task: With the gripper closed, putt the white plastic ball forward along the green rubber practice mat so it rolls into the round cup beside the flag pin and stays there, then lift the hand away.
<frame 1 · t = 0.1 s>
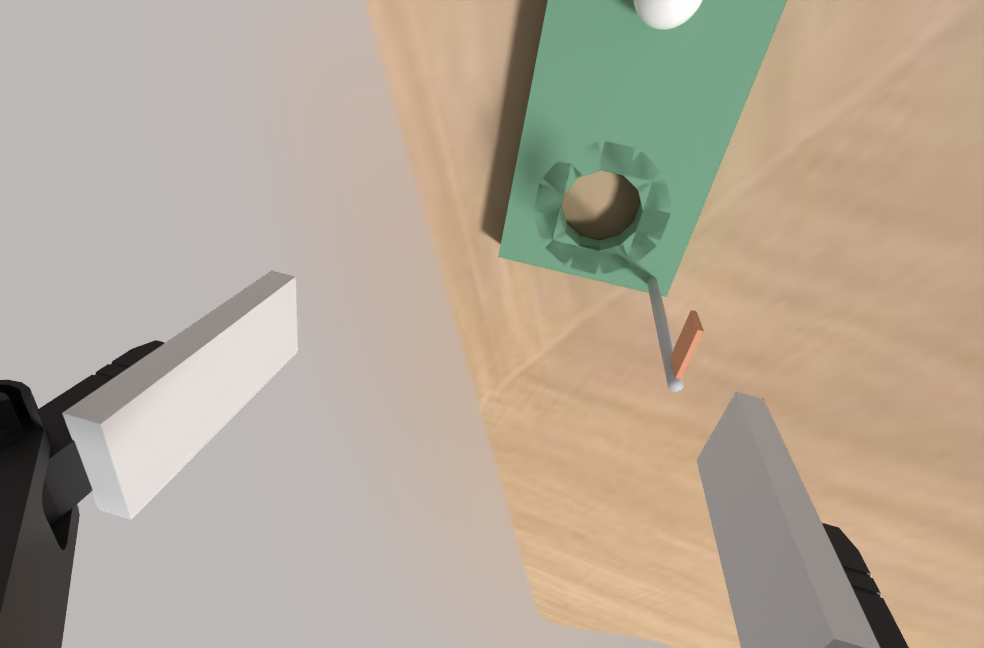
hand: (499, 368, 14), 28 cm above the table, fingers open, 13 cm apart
green: (623, 124, 36), on the table
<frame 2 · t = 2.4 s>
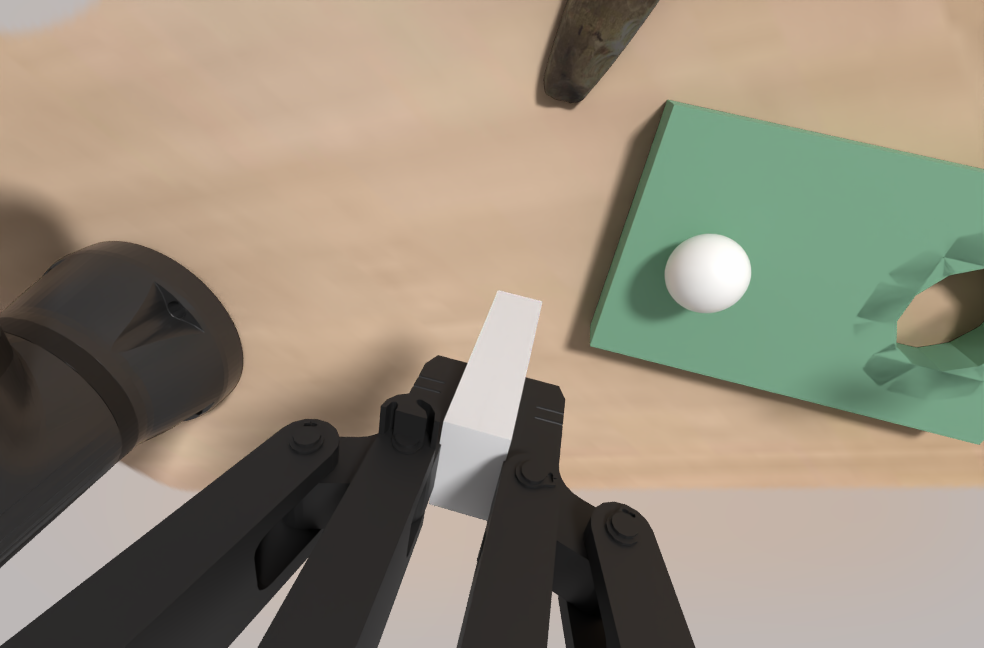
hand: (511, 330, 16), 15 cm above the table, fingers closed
green: (829, 275, 28), on the table
ball: (706, 273, 25), point 4 cm above the table, touching green
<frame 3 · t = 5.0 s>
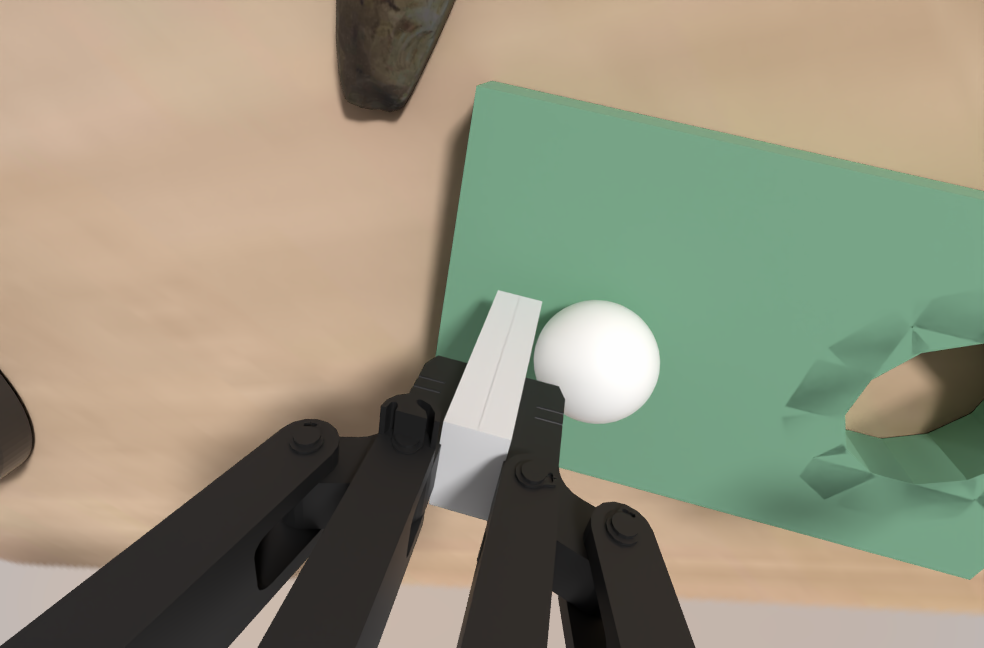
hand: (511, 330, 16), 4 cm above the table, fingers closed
green: (752, 339, 19), on the table
ball: (595, 361, 16), point 4 cm above the table, tilted 44°, touching green
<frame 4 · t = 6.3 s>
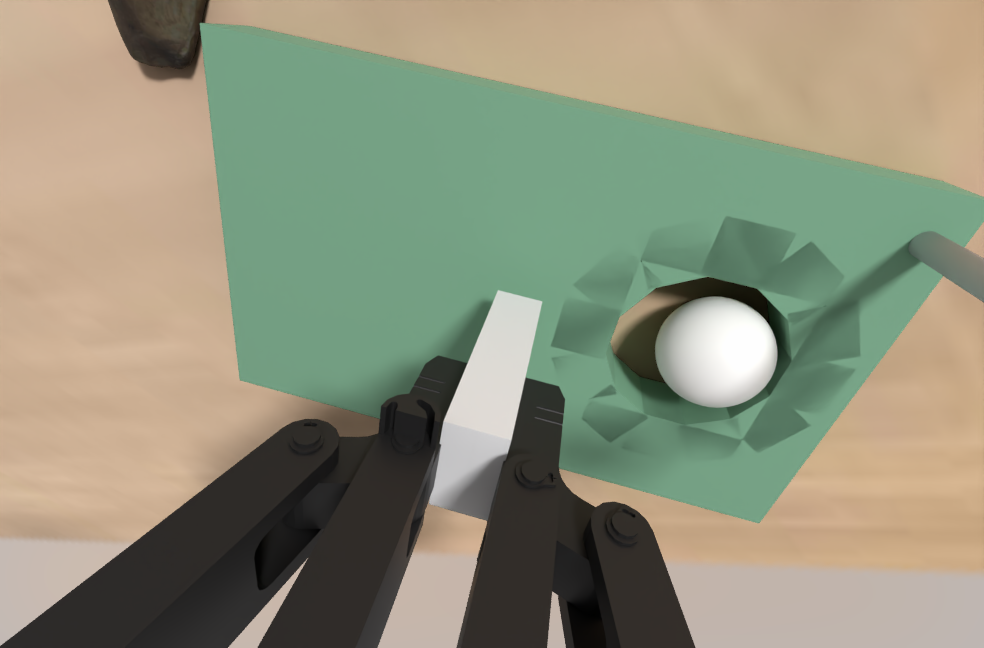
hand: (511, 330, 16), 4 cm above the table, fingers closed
green: (538, 286, 20), on the table
ball: (713, 351, 18), point 2 cm above the table, tilted 77°
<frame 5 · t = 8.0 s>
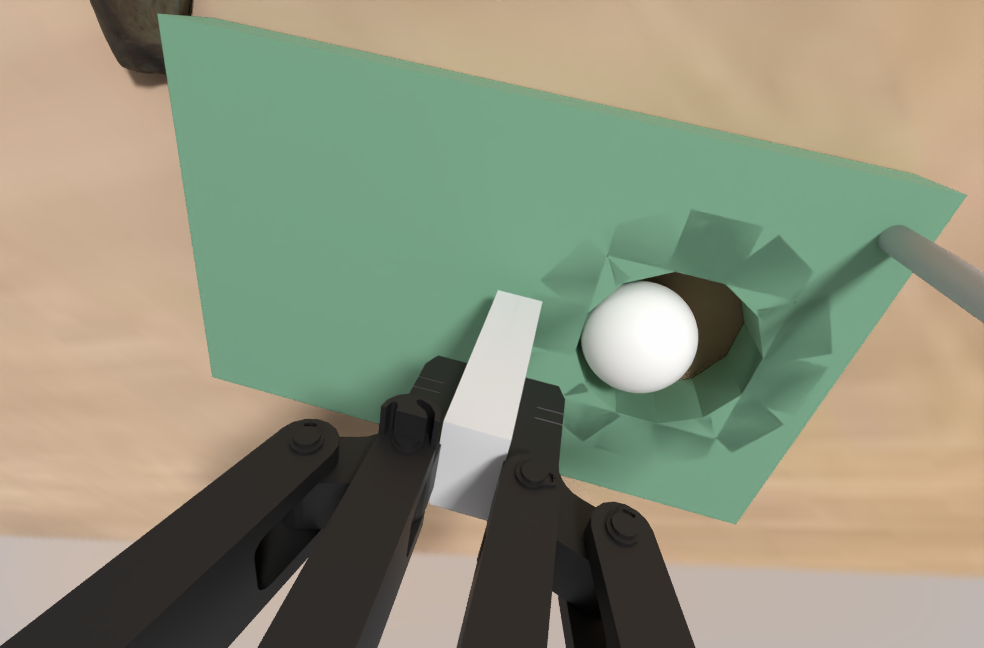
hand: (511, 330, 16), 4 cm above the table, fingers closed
green: (510, 282, 19), on the table
ball: (637, 336, 17), point 2 cm above the table, tilted 37°
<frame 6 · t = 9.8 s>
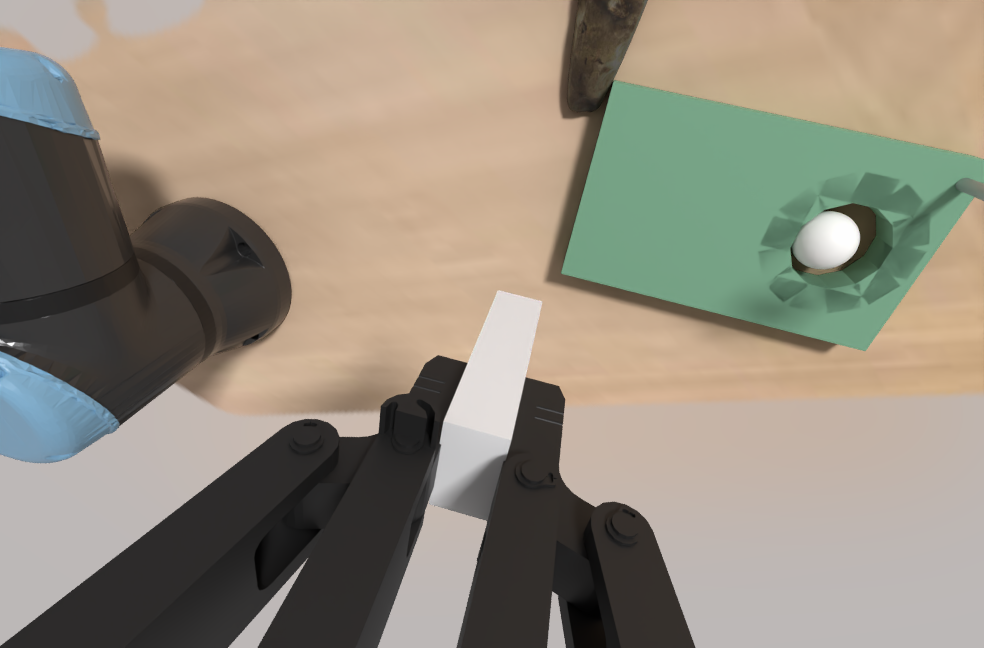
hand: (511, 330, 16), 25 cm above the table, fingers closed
green: (744, 216, 36), on the table
stone: (601, 2, 32), on the table
ball: (824, 240, 34), point 2 cm above the table, tilted 38°
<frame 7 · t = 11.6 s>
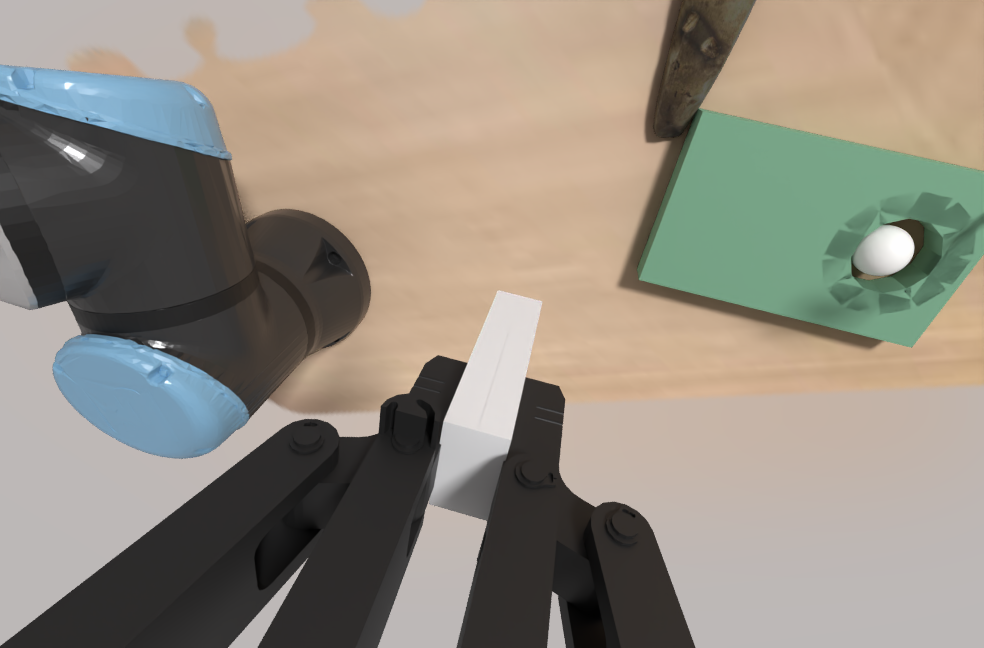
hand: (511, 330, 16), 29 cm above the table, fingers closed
green: (806, 228, 41), on the table
stone: (689, 42, 36), on the table
ball: (880, 250, 38), point 2 cm above the table, tilted 38°
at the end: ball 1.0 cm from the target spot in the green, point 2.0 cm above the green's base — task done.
